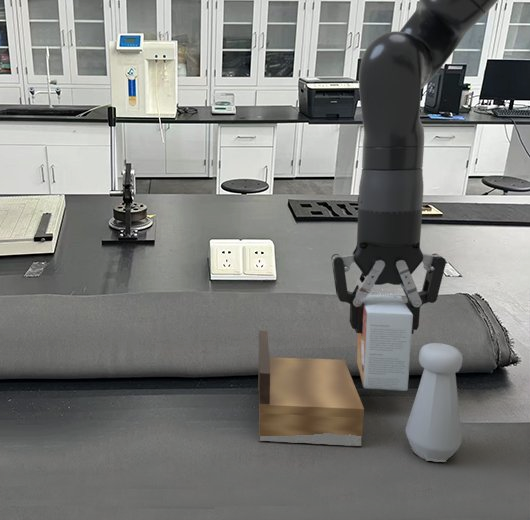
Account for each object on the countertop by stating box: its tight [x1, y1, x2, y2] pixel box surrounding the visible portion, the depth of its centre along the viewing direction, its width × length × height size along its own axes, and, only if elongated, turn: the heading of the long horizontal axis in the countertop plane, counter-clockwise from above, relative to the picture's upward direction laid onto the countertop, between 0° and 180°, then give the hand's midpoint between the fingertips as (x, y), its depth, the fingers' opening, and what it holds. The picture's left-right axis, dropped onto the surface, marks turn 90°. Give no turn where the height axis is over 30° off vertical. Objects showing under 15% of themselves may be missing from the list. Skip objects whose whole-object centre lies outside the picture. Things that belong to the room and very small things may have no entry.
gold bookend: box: [257, 330, 365, 437], centre depth 69 cm, size 12×14×9 cm
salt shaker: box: [405, 342, 464, 460], centre depth 60 cm, size 6×6×13 cm
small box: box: [356, 294, 413, 392], centre depth 71 cm, size 8×6×10 cm
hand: (383, 331), depth 70 cm, fingers closed on small box, 5 cm apart
